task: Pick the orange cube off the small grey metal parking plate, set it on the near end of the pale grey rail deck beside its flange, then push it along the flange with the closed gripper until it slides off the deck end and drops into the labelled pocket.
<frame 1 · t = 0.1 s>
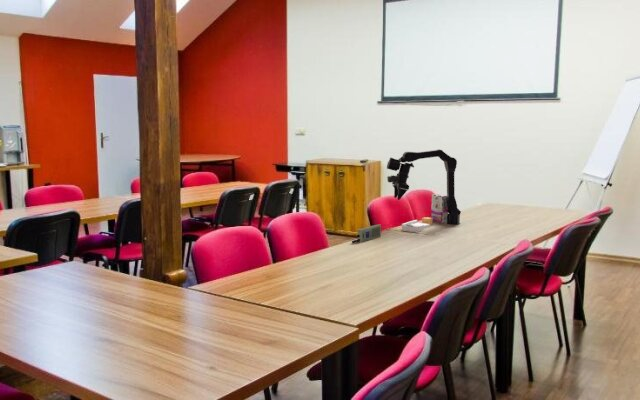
hand: (396, 198, 345), 15 cm above the table, tool pointing down, fingers open, 9 cm apart
candy bar box: (439, 222, 358), on the table
handheld radio: (366, 240, 303), on the table
parking plate: (427, 225, 344), on the table
orange cube: (427, 224, 344), resting on parking plate
rail: (416, 229, 334), on the table
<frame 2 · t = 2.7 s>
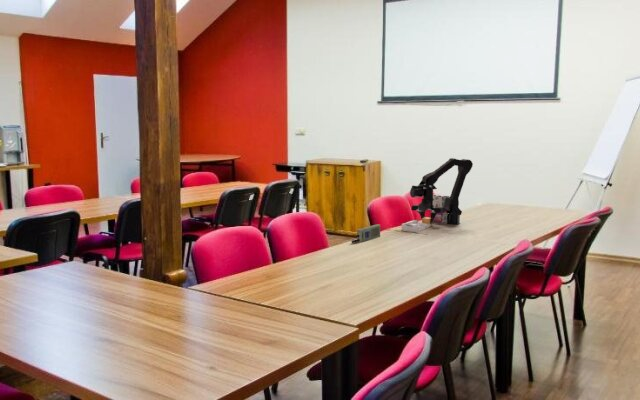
hand: (427, 223, 344), 1 cm above the table, tool pointing down, fingers closed on orange cube, 4 cm apart
orange cube: (427, 224, 344), resting on parking plate, touching gripper
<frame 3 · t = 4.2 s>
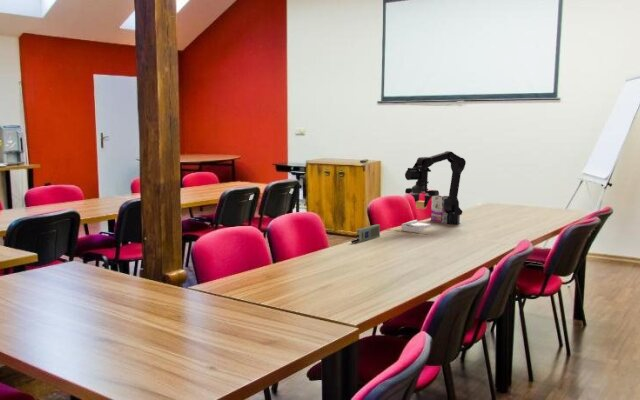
hand: (421, 206, 337), 12 cm above the table, tool pointing down, fingers closed on orange cube, 4 cm apart
orange cube: (421, 208, 337), point 11 cm above the table, touching gripper
everything else where it was.
when the fingers open (4 cm above the table, at t = 6.1 s): orange cube drops 1 cm, resting on rail.
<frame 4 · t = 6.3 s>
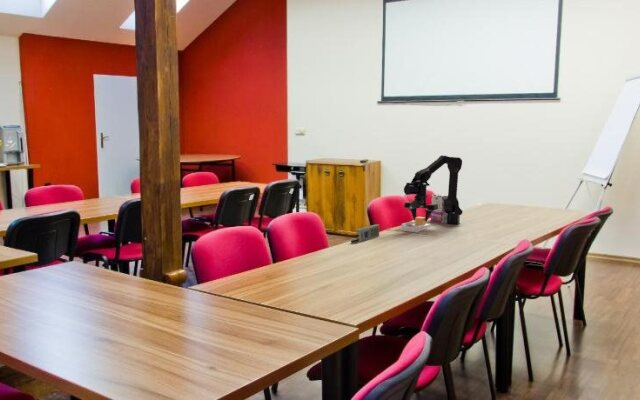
hand: (420, 221, 337), 4 cm above the table, tool pointing down, fingers open, 7 cm apart
orange cube: (420, 224, 337), point 2 cm above the table, touching rail
everything else where it was.
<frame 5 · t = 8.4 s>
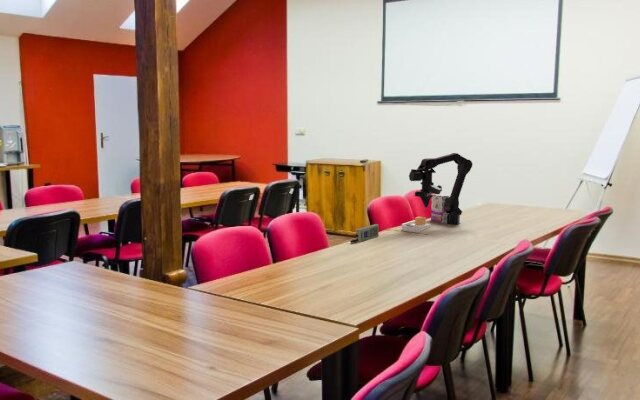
hand: (426, 207, 341), 11 cm above the table, tool pointing down, fingers closed
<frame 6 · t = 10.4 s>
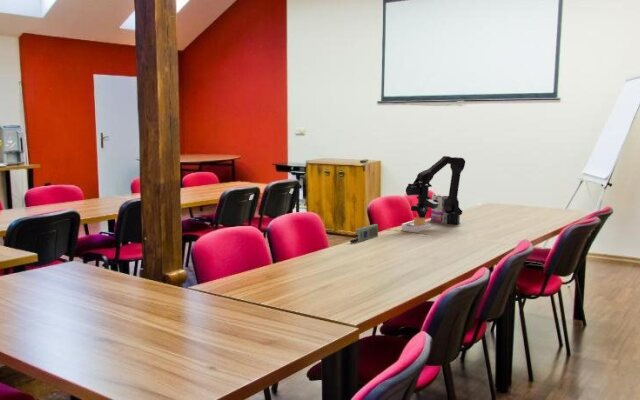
hand: (422, 221, 339), 3 cm above the table, tool pointing down, fingers closed
orange cube: (419, 224, 336), point 2 cm above the table, touching gripper
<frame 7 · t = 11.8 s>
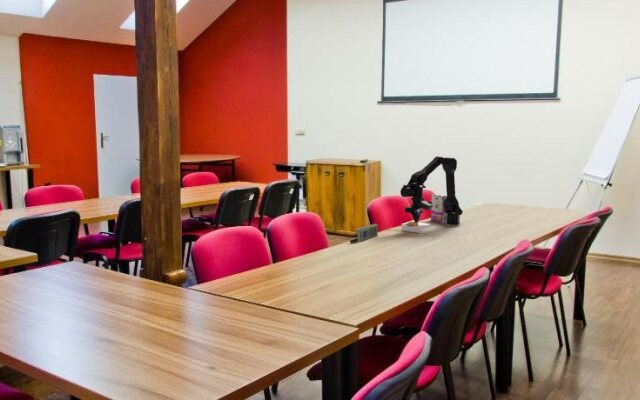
hand: (416, 223, 333), 3 cm above the table, tool pointing down, fingers closed
orange cube: (414, 225, 331), point 2 cm above the table, tilted 90°
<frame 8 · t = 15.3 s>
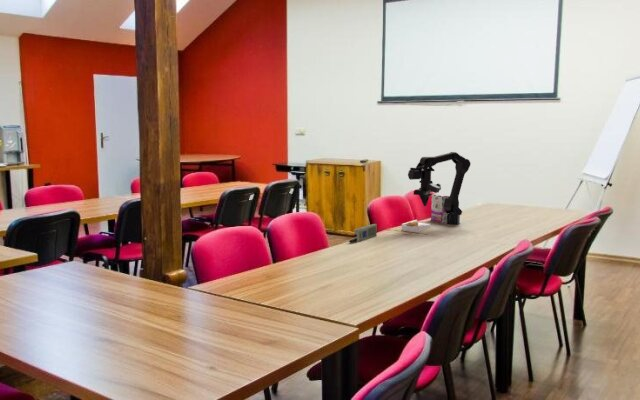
hand: (425, 206, 340), 12 cm above the table, tool pointing down, fingers closed
at the end: orange cube inside the target area (1.9 cm from its centre), point 2.1 cm above the table; orange cube touching table; the gripper is holding nothing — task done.
